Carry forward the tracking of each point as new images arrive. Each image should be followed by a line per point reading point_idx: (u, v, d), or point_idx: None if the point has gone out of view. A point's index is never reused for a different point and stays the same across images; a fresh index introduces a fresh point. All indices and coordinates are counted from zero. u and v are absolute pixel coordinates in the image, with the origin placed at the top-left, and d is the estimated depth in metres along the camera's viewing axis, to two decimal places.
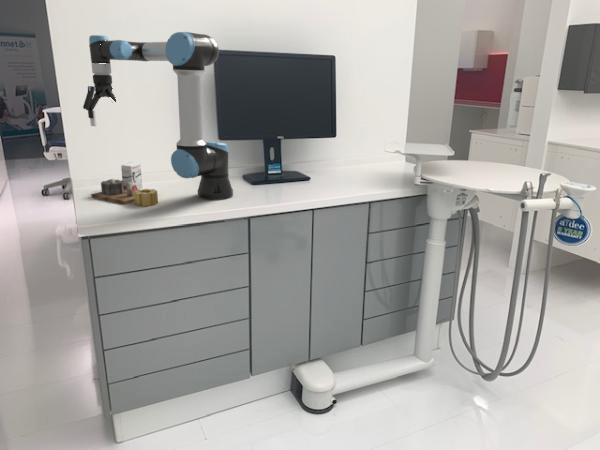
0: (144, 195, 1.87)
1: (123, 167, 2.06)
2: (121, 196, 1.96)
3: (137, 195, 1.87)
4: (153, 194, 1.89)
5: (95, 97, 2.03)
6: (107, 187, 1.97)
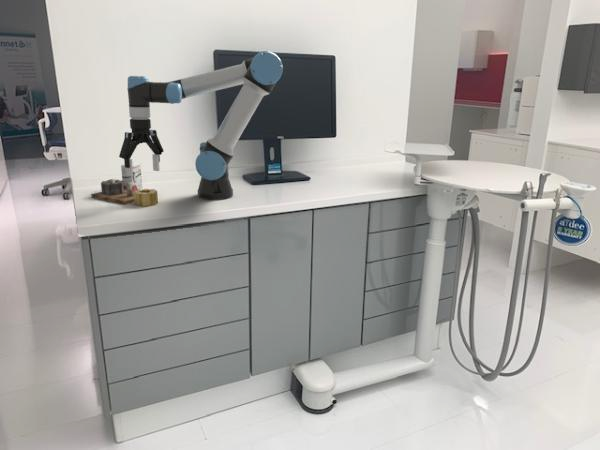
0: (144, 195, 1.87)
1: (123, 167, 2.06)
2: (121, 196, 1.96)
3: (137, 195, 1.87)
4: (153, 194, 1.89)
5: (132, 144, 1.81)
6: (107, 187, 1.97)
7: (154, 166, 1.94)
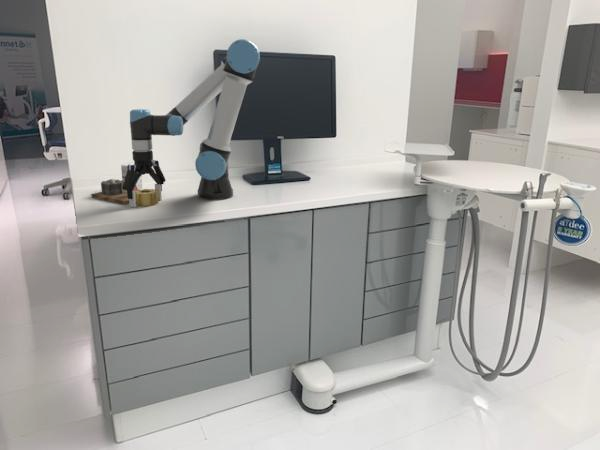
0: (144, 195, 1.87)
1: (123, 167, 2.06)
2: (121, 196, 1.96)
3: (137, 195, 1.87)
4: (153, 194, 1.89)
5: (135, 176, 1.85)
6: (107, 187, 1.97)
7: None
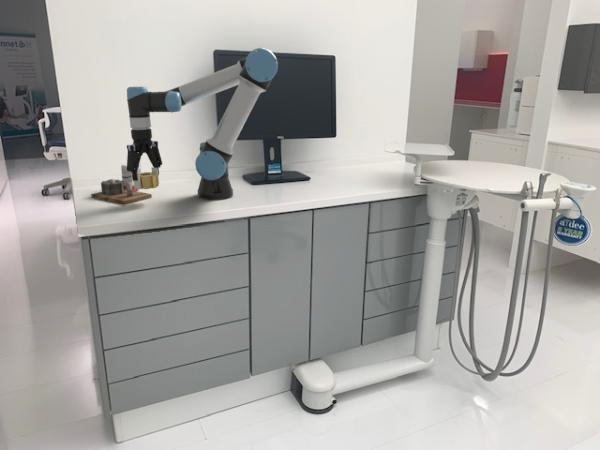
0: (144, 178, 1.85)
1: (123, 167, 2.06)
2: (121, 196, 1.96)
3: None
4: (153, 177, 1.87)
5: (136, 156, 1.83)
6: (107, 187, 1.97)
7: None
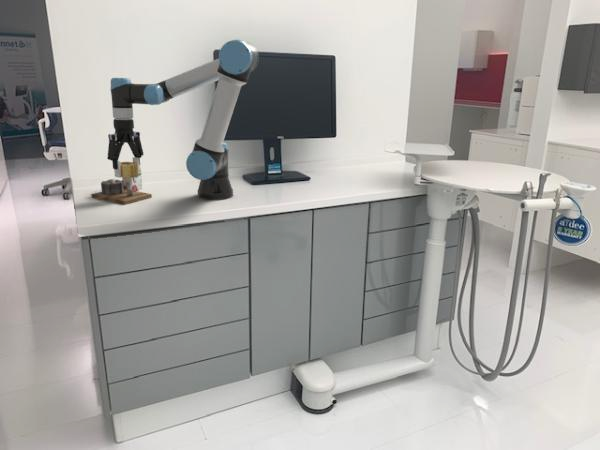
0: (124, 167, 1.90)
1: None
2: (121, 196, 1.96)
3: None
4: (133, 166, 1.92)
5: (117, 145, 1.88)
6: (107, 187, 1.97)
7: None
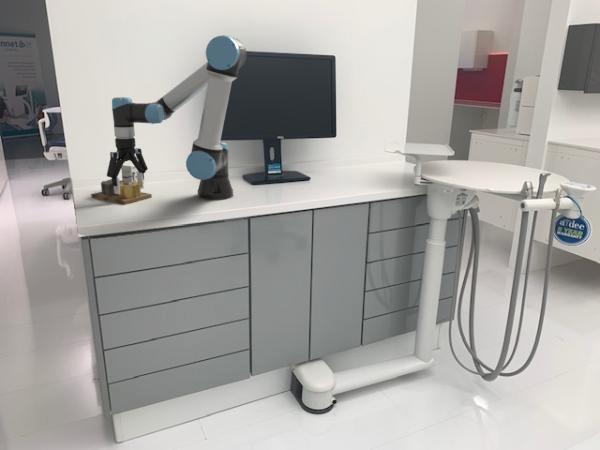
0: (127, 187, 1.92)
1: (123, 167, 2.06)
2: None
3: (120, 187, 1.93)
4: (136, 186, 1.94)
5: (118, 163, 1.90)
6: (107, 187, 1.97)
7: None
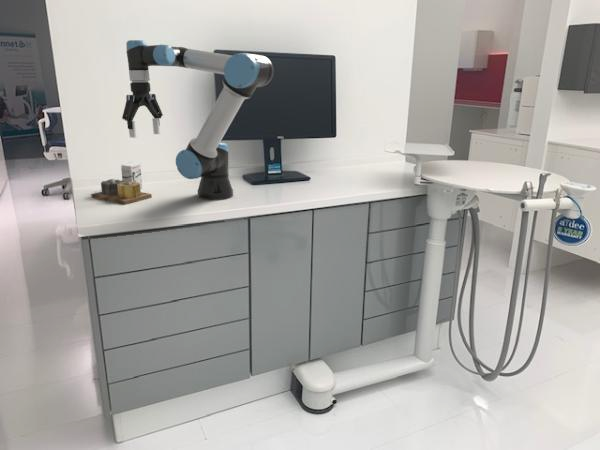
0: (127, 187, 1.92)
1: (123, 167, 2.06)
2: None
3: (120, 187, 1.93)
4: (136, 186, 1.94)
5: (134, 106, 1.89)
6: (107, 187, 1.97)
7: (154, 130, 2.02)
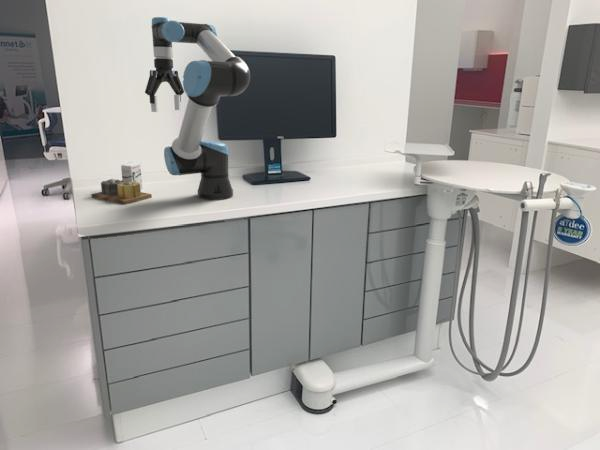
0: (127, 187, 1.92)
1: (123, 167, 2.06)
2: None
3: (120, 187, 1.93)
4: (136, 186, 1.94)
5: (156, 82, 1.96)
6: (107, 187, 1.97)
7: (176, 106, 2.09)
